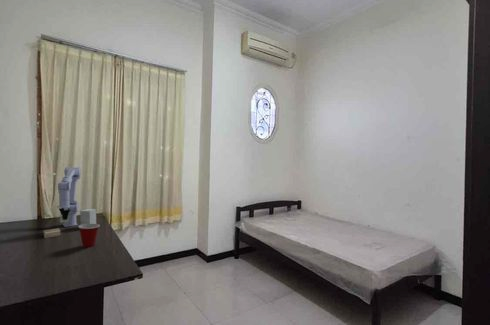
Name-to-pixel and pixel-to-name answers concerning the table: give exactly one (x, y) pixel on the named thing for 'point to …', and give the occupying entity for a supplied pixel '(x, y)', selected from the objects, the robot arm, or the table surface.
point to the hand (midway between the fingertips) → (64, 219)
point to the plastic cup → (88, 234)
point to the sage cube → (63, 220)
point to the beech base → (51, 233)
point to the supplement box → (88, 216)
